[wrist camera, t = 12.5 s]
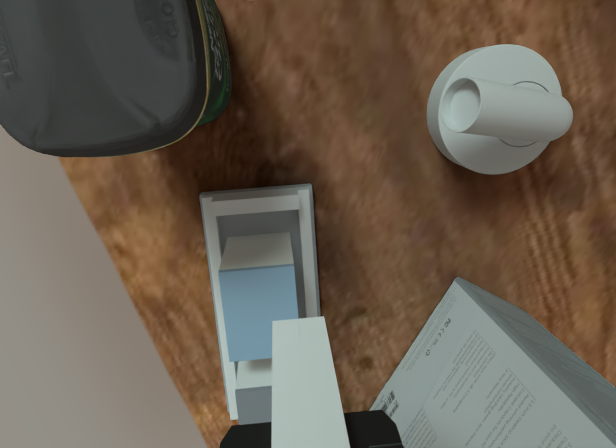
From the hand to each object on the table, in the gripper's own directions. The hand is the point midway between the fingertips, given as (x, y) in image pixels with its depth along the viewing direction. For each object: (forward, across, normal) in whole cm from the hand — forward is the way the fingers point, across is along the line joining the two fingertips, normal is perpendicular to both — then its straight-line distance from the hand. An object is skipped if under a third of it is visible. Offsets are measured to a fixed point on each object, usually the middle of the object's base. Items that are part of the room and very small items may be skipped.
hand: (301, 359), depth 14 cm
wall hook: (+23, +14, +4) cm, 28 cm away
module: (+21, -2, -6) cm, 22 cm away
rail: (+22, -2, -9) cm, 24 cm away
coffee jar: (+23, -7, +9) cm, 26 cm away
